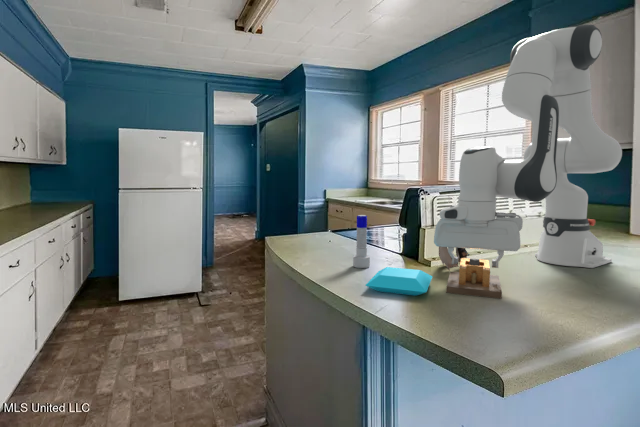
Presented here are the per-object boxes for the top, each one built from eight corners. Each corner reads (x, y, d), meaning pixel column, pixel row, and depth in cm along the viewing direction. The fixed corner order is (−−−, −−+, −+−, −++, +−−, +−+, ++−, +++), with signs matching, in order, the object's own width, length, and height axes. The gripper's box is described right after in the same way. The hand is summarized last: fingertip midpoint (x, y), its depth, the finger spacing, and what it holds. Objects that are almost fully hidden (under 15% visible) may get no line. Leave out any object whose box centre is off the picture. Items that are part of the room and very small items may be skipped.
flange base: (450, 276, 107) (451, 253, 106) (498, 281, 102) (499, 257, 101) (446, 292, 93) (447, 265, 92) (501, 298, 88) (503, 270, 88)
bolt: (372, 267, 117) (358, 269, 115) (364, 264, 122) (350, 265, 119) (373, 215, 115) (358, 216, 113) (364, 214, 120) (350, 215, 118)
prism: (378, 280, 105) (378, 264, 105) (432, 285, 100) (432, 268, 100) (364, 294, 92) (365, 275, 92) (426, 300, 87) (426, 280, 87)
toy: (476, 270, 110) (461, 220, 110) (446, 278, 112) (431, 228, 111) (471, 263, 119) (457, 216, 118) (443, 270, 121) (429, 224, 120)
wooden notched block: (460, 272, 105) (461, 257, 105) (487, 274, 103) (488, 259, 103) (458, 284, 94) (459, 268, 94) (489, 287, 92) (490, 270, 91)
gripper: (521, 211, 97) (519, 266, 98) (436, 209, 104) (435, 259, 106) (524, 214, 91) (521, 272, 92) (433, 211, 98) (432, 265, 100)
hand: (474, 265), depth 99 cm, fingers open, 8 cm apart
